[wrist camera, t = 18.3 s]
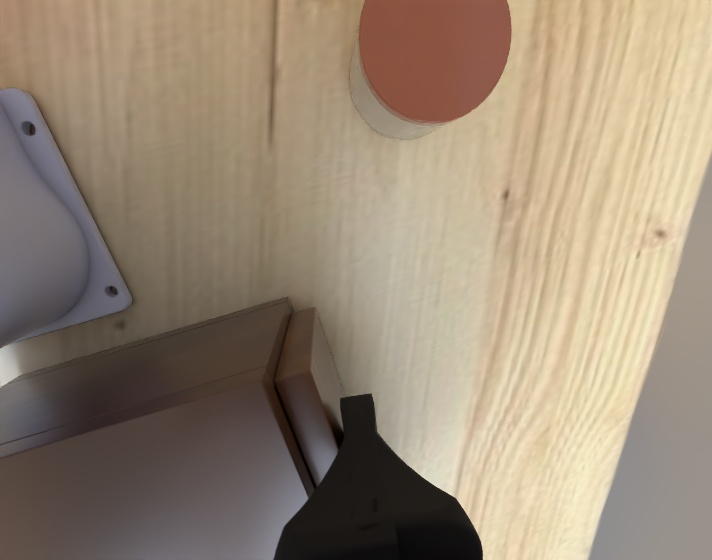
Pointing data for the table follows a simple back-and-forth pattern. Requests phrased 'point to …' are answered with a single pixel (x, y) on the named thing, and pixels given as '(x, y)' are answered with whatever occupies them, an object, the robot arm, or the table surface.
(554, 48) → the table surface
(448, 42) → the pot
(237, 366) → the cabinet
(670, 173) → the table surface
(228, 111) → the table surface
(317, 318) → the drawer
